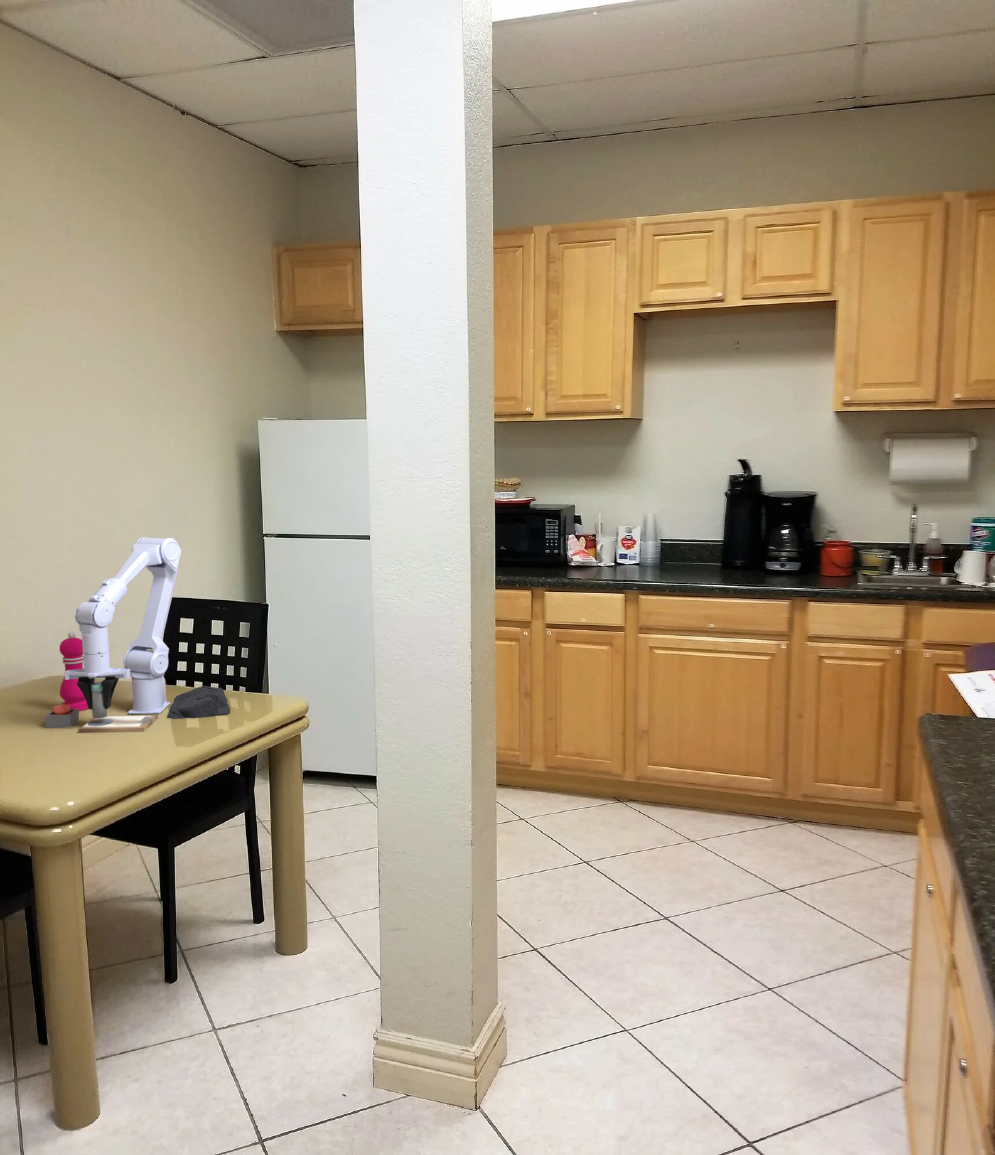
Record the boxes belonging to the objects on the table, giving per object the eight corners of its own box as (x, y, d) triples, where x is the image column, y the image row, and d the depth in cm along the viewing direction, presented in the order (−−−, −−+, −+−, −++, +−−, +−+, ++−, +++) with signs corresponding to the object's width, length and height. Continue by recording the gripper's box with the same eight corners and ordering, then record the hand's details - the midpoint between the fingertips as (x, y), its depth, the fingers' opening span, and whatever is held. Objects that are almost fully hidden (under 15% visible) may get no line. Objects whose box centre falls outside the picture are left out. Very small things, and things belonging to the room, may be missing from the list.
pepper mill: (54, 711, 236) (49, 633, 234) (73, 704, 243) (68, 628, 241) (79, 713, 235) (74, 635, 232) (98, 705, 242) (93, 629, 239)
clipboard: (95, 719, 229) (95, 713, 229) (158, 718, 230) (157, 711, 230) (78, 732, 218) (78, 726, 218) (144, 731, 219) (143, 724, 219)
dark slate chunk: (232, 695, 253) (231, 678, 252) (230, 717, 232) (229, 699, 231) (172, 699, 249) (171, 682, 249) (165, 722, 228) (164, 703, 228)
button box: (55, 721, 228) (54, 709, 227) (79, 720, 228) (78, 708, 228) (46, 727, 222) (45, 715, 222) (70, 727, 223) (69, 715, 222)
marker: (95, 714, 224) (93, 682, 223) (109, 714, 224) (107, 681, 223) (90, 718, 221) (88, 685, 220) (104, 718, 221) (102, 685, 220)
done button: (57, 712, 227) (56, 704, 226) (72, 712, 227) (72, 704, 227) (51, 716, 223) (50, 708, 223) (66, 716, 223) (66, 708, 223)
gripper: (57, 656, 216) (61, 713, 218) (121, 655, 217) (125, 711, 219) (69, 649, 223) (73, 705, 225) (131, 648, 224) (134, 703, 226)
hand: (99, 708), depth 222 cm, fingers closed on marker, 3 cm apart
